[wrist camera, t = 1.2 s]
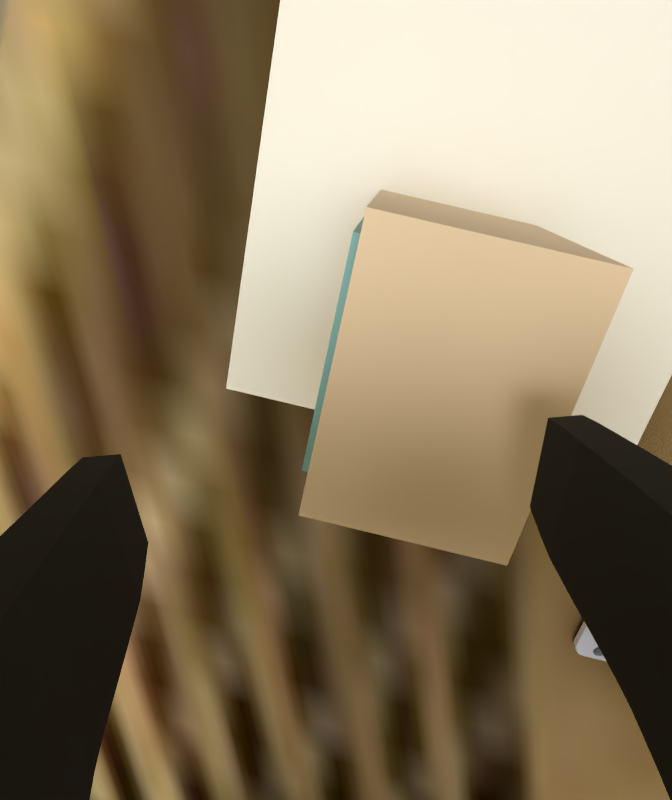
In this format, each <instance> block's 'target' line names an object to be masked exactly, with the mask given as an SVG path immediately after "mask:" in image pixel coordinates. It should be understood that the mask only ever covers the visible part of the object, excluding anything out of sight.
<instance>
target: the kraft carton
mask: <svg viewBox="0 0 672 800" xmlns="http://www.w3.org/2000/svg"><path fill="white" fill-rule="evenodd" d="M632 272H633V268H631V267H629V266H626V265H624V264H622V263H620V262H617V261H615V260H613V259H611V258H608V257H606V256H604V255H602V254H599V253H597V252H595V251H593V250H590V249H588V248H586V247H584V246H581V245H579V244H577V243H575V242H573V241H570V240H568V239H566V238H564V237H561V236H559V235H557V234H555V233H552V232H550V231H548V230H546V229H543V228H541V227H539V226H537V225H533V224H529V223H524V222H520V221H516V220H511V219H507V218H503V217H498V216H494V215H490V214H485V213H481V212H477V211H472V210H468V209H464V208H459V207H455V206H451V205H446V204H442V203H438V202H433V201H429V200H425V199H420V198H416V197H412V196H407V195H403V194H399V193H394V192H390V191H386V190H380V191H379V192H378V194H377V195H376V196H375V197H374V198H373V200H372V201H371V202H370V203H369V204H368V206H367V207H366V211H365V215H364V217H363V218H362V220H361V221H360V223H359V224H358V225H357V227H356V228H355V229H354V231H353V234H352V238H351V243H350V248H349V252H348V257H347V262H346V266H345V271H344V276H343V280H342V285H341V290H340V294H339V299H338V304H337V308H336V313H335V318H334V322H333V327H332V332H331V336H330V341H329V346H328V350H327V355H326V360H325V364H324V369H323V374H322V378H321V383H320V388H319V392H318V397H317V402H316V406H315V411H314V416H313V420H312V425H311V430H310V434H309V439H308V444H307V448H306V453H305V458H304V462H303V467H302V470H303V471H307V472H308V474H307V479H306V483H305V488H304V492H303V497H302V501H301V506H300V511H299V516H303V517H307V518H312V519H316V520H320V521H324V522H328V523H332V524H336V525H341V526H345V527H349V528H353V529H357V530H361V531H365V532H370V533H374V534H378V535H382V536H386V537H390V538H394V539H399V540H403V541H407V542H411V543H415V544H419V545H423V546H428V547H432V548H436V549H440V550H444V551H448V552H452V553H457V554H461V555H465V556H469V557H473V558H477V559H481V560H486V561H490V562H494V563H498V564H502V565H506V566H507V565H508V562H509V560H510V558H511V555H512V553H513V551H514V548H515V546H516V544H517V541H518V539H519V537H520V534H521V532H522V530H523V527H524V525H525V523H526V520H527V518H528V516H529V513H530V511H531V508H530V503H531V498H532V493H533V489H534V484H535V479H536V474H537V469H538V464H539V459H540V455H541V450H542V445H543V440H544V435H545V430H546V425H547V421H548V418H552V417H563V416H571V415H572V412H573V410H574V408H575V405H576V403H577V401H578V398H579V396H580V394H581V391H582V389H583V387H584V384H585V382H586V380H587V377H588V375H589V373H590V370H591V368H592V365H593V363H594V361H595V358H596V356H597V354H598V351H599V349H600V347H601V344H602V342H603V340H604V337H605V335H606V333H607V330H608V328H609V326H610V323H611V321H612V319H613V316H614V314H615V312H616V309H617V307H618V304H619V302H620V300H621V297H622V295H623V293H624V290H625V288H626V286H627V283H628V281H629V279H630V276H631V274H632Z"/></svg>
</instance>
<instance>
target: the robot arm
mask: <svg viewBox="0 0 672 800" xmlns="http://www.w3.org/2000/svg"><path fill="white" fill-rule="evenodd" d="M530 508H531V511H532V514H533V516H534V519H535V522H536V524H537V527H538V530H539V533H540V535H541V538H542V540H543V543H544V545H545V547H546V550H547V552H548V555H549V557H550V559H551V561H552V563H553V565H554V567H555V569H556V571H557V573H558V574H559V576H560V578H561V580H562V582H563V584H564V585H565V587H566V589H567V591H568V593H569V595H570V596H571V598H572V600H573V602H574V604H575V605H576V607H577V609H578V611H579V613H580V614H581V616H582V618H583V620H584V622H583V624H582V626H581V628H580V630H579V631H578V633H577V635H576V637H575V639H574V646H575V649H576V652H577V653H578V654H580V655H582V656H585V657H589V658H594V659H598V660H602V661H606V662H607V663H608V665H609V667H610V669H611V670H612V672H613V674H614V676H615V678H616V679H617V681H618V683H619V685H620V687H621V689H622V691H623V693H624V695H625V697H626V699H627V701H628V703H629V705H630V707H631V709H632V711H633V714H634V716H635V718H636V720H637V723H638V725H639V727H640V730H641V732H642V734H643V736H644V739H645V741H646V743H647V746H648V748H649V750H650V752H651V755H652V757H653V759H654V762H655V764H656V766H657V768H658V771H659V773H660V775H661V778H662V780H663V783H664V785H665V788H666V790H667V792H668V795H669V797H670V800H672V466H671V465H669V464H668V463H666V462H664V461H663V460H661V459H659V458H658V457H656V456H654V455H652V454H651V453H649V452H647V451H646V450H644V449H642V448H641V447H639V446H637V445H636V444H634V443H632V442H631V441H629V440H627V439H626V438H624V437H622V436H620V435H619V434H617V433H615V432H614V431H612V430H610V429H608V428H607V427H605V426H603V425H601V424H599V423H598V422H596V421H594V420H592V419H590V418H588V417H586V416H584V415H575V416H563V417H552V418H548V421H547V425H546V430H545V435H544V440H543V445H542V450H541V455H540V459H539V464H538V469H537V474H536V479H535V484H534V489H533V493H532V498H531V503H530ZM147 547H148V541H147V538H146V534H145V531H144V528H143V525H142V522H141V518H140V515H139V512H138V509H137V505H136V502H135V499H134V496H133V493H132V489H131V486H130V483H129V480H128V477H127V473H126V470H125V467H124V464H123V460H122V457H121V454H118V455H107V456H95V457H83V458H82V459H81V460H79V461H78V462H77V463H76V464H75V465H74V466H73V467H72V468H71V469H70V470H68V471H67V472H66V473H65V474H64V475H63V476H62V477H61V478H60V479H59V480H58V481H57V482H56V483H55V484H54V485H53V486H52V487H51V488H50V489H49V490H48V491H47V492H46V493H45V494H44V495H43V496H42V497H41V498H40V499H39V500H38V501H37V502H35V503H34V504H33V505H32V506H31V507H30V508H29V509H28V510H27V511H26V512H25V513H24V514H23V515H22V516H21V517H20V518H19V519H18V520H17V521H16V522H15V523H14V524H13V525H12V526H10V527H9V528H8V529H7V530H6V531H5V532H4V533H3V534H2V535H1V536H0V800H89V798H90V793H91V787H92V782H93V776H94V771H95V767H96V763H97V758H98V754H99V750H100V746H101V741H102V737H103V734H104V730H105V726H106V723H107V719H108V716H109V712H110V708H111V705H112V701H113V697H114V694H115V690H116V687H117V683H118V679H119V676H120V672H121V669H122V665H123V661H124V658H125V654H126V651H127V647H128V643H129V640H130V636H131V632H132V628H133V625H134V621H135V617H136V614H137V610H138V606H139V602H140V597H141V591H142V584H143V578H144V571H145V563H146V555H147ZM597 647H599V648H598V649H595V648H597Z"/></svg>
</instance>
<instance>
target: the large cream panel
mask: <svg viewBox="0 0 672 800" xmlns="http://www.w3.org/2000/svg"><path fill="white" fill-rule="evenodd" d="M380 190H386V191H390V192H394V193H399V194H403V195H407V196H412V197H416V198H420V199H425V200H429V201H433V202H438V203H442V204H446V205H451V206H455V207H459V208H464V209H468V210H472V211H477V212H481V213H485V214H490V215H494V216H498V217H503V218H507V219H511V220H516V221H520V222H524V223H529V224H533V225H537V226H539V227H541V228H543V229H546V230H548V231H550V232H552V233H555V234H557V235H559V236H561V237H564V238H566V239H568V240H570V241H573V242H575V243H577V244H579V245H581V246H584V247H586V248H588V249H590V250H593V251H595V252H597V253H599V254H602V255H604V256H606V257H608V258H611V259H613V260H615V261H617V262H620V263H622V264H624V265H626V266H629V267H631V268H633V272H632V274H631V276H630V279H629V281H628V283H627V286H626V288H625V290H624V293H623V295H622V297H621V300H620V302H619V304H618V307H617V309H616V312H615V314H614V316H613V319H612V321H611V323H610V326H609V328H608V330H607V333H606V335H605V337H604V340H603V342H602V344H601V347H600V349H599V351H598V354H597V356H596V358H595V361H594V363H593V365H592V368H591V370H590V373H589V375H588V377H587V380H586V382H585V384H584V387H583V389H582V391H581V394H580V396H579V398H578V401H577V403H576V405H575V408H574V410H573V412H572V415H571V416H575V415H584V416H586V417H588V418H590V419H592V420H594V421H596V422H598V423H599V424H601V425H603V426H605V427H607V428H608V429H610V430H612V431H614V432H615V433H617V434H619V435H620V436H622V437H624V438H626V439H627V440H629V441H631V442H632V443H634V444H636V445H637V444H638V442H639V440H640V438H641V436H642V434H643V432H644V430H645V428H646V426H647V424H648V422H649V420H650V418H651V416H652V414H653V412H654V410H655V408H656V406H657V404H658V402H659V400H660V398H661V396H662V394H663V391H664V389H665V387H666V385H667V383H668V381H669V379H670V377H671V375H672V0H280V6H279V14H278V21H277V28H276V35H275V42H274V49H273V57H272V64H271V71H270V78H269V85H268V92H267V100H266V107H265V114H264V121H263V128H262V135H261V143H260V150H259V157H258V164H257V171H256V178H255V186H254V193H253V200H252V207H251V214H250V221H249V229H248V236H247V243H246V250H245V257H244V265H243V272H242V279H241V286H240V293H239V300H238V308H237V315H236V322H235V329H234V336H233V343H232V351H231V358H230V365H229V372H228V379H227V386H226V389H231V390H235V391H239V392H243V393H247V394H252V395H256V396H260V397H264V398H268V399H273V400H277V401H281V402H285V403H289V404H294V405H298V406H302V407H306V408H310V409H315V406H316V402H317V397H318V392H319V388H320V383H321V378H322V374H323V369H324V364H325V360H326V355H327V350H328V346H329V341H330V336H331V332H332V327H333V322H334V318H335V313H336V308H337V304H338V299H339V294H340V290H341V285H342V280H343V276H344V271H345V266H346V262H347V257H348V252H349V248H350V243H351V238H352V234H353V231H354V229H355V228H356V227H357V225H358V224H359V223H360V221H361V220H362V218H363V217H364V215H365V211H366V207H367V206H368V204H369V203H370V202H371V201H372V200H373V198H374V197H375V196H376V195H377V194H378V192H379V191H380Z"/></svg>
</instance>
